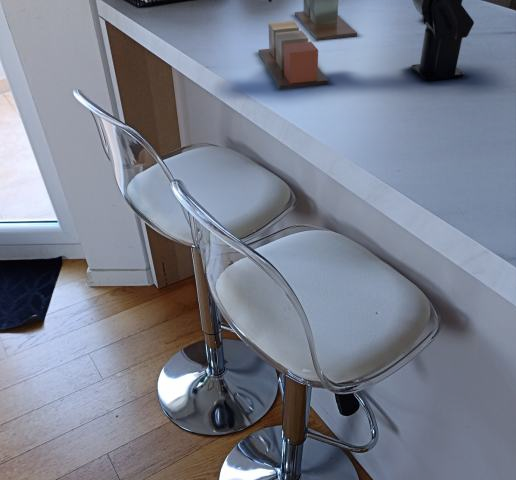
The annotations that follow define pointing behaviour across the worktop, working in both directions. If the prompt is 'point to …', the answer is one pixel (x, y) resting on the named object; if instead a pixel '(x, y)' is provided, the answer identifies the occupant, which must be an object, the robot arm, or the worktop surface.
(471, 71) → the worktop surface
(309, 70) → the letter block
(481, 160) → the worktop surface
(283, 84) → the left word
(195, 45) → the worktop surface
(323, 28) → the dark wooden base plate
